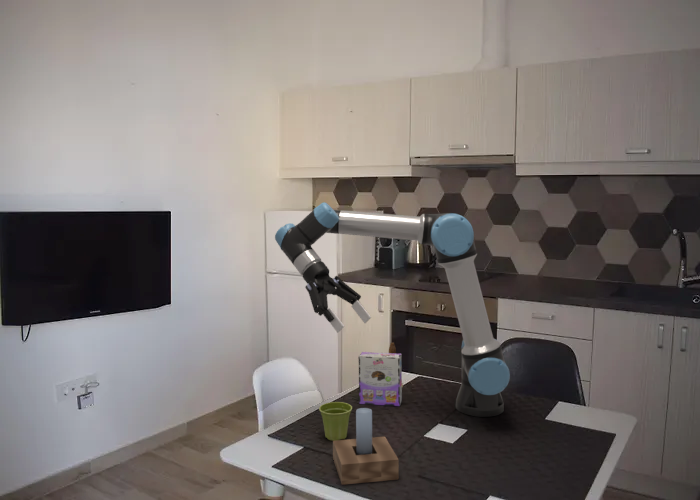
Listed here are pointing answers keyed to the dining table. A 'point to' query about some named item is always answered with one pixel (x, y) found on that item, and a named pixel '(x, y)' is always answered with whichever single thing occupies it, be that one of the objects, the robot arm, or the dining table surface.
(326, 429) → the plant pot
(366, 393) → the candy box
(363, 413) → the dowel
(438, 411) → the dining table surface
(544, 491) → the dining table surface
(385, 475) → the bore block
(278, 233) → the robot arm
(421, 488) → the dining table surface
